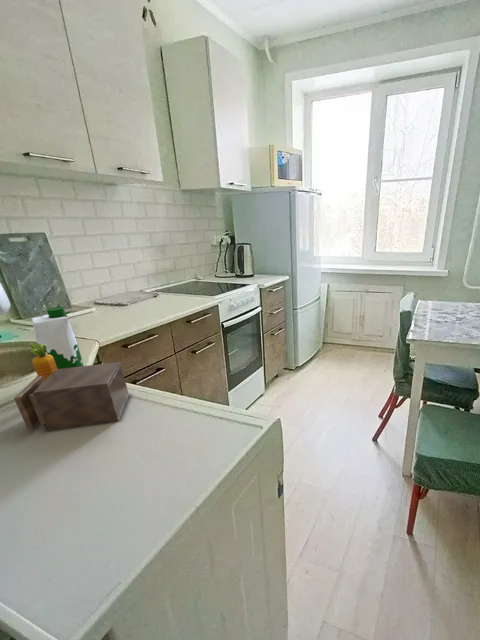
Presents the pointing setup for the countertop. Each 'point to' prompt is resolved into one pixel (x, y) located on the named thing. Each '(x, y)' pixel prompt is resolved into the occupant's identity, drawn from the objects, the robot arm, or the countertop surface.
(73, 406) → the cabinet
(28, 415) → the drawer
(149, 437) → the countertop surface
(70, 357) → the milk carton
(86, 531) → the countertop surface
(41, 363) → the carrot
